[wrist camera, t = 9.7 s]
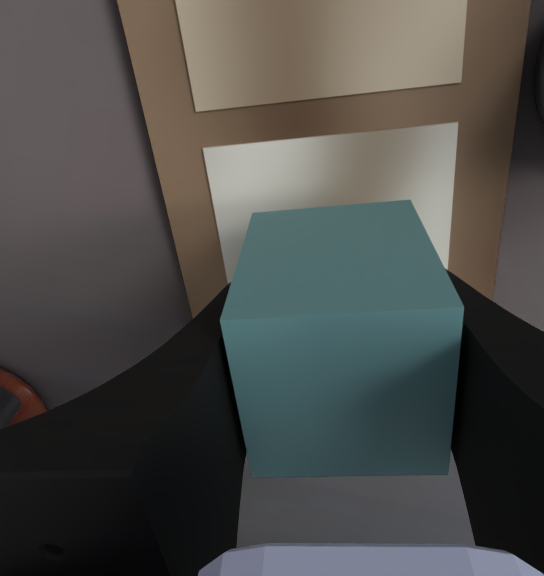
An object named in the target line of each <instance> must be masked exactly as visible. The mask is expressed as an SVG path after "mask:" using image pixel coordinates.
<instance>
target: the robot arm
mask: <svg viewBox="0 0 544 576" xmlns="http://www.w3.org/2000/svg"><path fill="white" fill-rule="evenodd" d="M445 270H446V272H447V274H448V276H449V278H450V280H451V282H452V284H453V286H454V288H455V290H456V292H457V294H458V296H459V298H460V300H461V301H462V303H463V305H464V314H463V325H462V335H461V346H460V356H459V367H458V377H457V388H456V398H455V409H454V419H453V430H452V440H451V450H452V453H453V456H454V460H455V463H456V466H457V470H458V474H459V478H460V482H461V486H462V490H463V494H464V498H465V502H466V506H467V510H468V515H469V519H470V523H471V528H472V532H473V536H474V541H475V545H476V546H473V545H467V544H364V543H265V544H259V545H252V546H246V547H240V548H236V543H237V531H238V520H239V508H240V498H241V488H242V478H243V469H244V463H245V456H246V446H245V441H244V436H243V431H242V426H241V421H240V417H239V412H238V407H237V402H236V397H235V392H234V387H233V382H232V378H231V373H230V368H229V363H228V358H227V353H226V348H225V344H224V339H223V334H222V329H221V324H220V318H221V315H222V312H223V308H224V305H225V302H226V298H227V295H228V292H229V289H230V285H231V282H230V283H229V284H228V285H227V286H225V287H224V288H223V289H222V290H221V292H220V293H219V294H218V295H217V296H216V297H215V298H214V299H213V300H212V301H211V302H210V303H209V304H208V305H207V306H206V307H205V308H204V309H203V310H202V311H201V312H200V313H199V314H198V315H197V316H196V317H195V318H194V319H192V320H191V321H190V322H189V323H188V324H187V325H186V326H185V327H183V328H182V329H181V330H180V331H179V332H178V333H177V334H175V335H174V336H173V337H172V338H171V339H170V340H169V341H167V342H166V343H165V344H164V345H162V346H161V347H160V348H158V349H157V350H156V351H154V352H153V353H152V354H150V355H149V356H147V357H146V358H145V359H143V360H142V361H140V362H139V363H137V364H136V365H134V366H133V367H131V368H130V369H128V370H126V371H125V372H123V373H121V374H120V375H118V376H116V377H114V378H113V379H111V380H109V381H108V382H106V383H104V384H103V385H101V386H99V387H97V388H95V389H93V390H91V391H89V392H88V393H86V394H84V395H82V396H80V397H78V398H75V399H73V400H71V401H69V402H67V403H65V404H63V405H60V406H58V407H56V408H54V409H51V410H49V411H47V412H44V413H42V414H39V415H37V416H34V417H32V418H29V419H26V420H24V421H21V422H19V423H16V424H14V425H11V426H8V427H6V428H3V429H0V576H544V332H543V331H541V330H539V329H537V328H535V327H534V326H532V325H530V324H528V323H527V322H525V321H523V320H522V319H520V318H518V317H516V316H515V315H513V314H511V313H510V312H508V311H507V310H505V309H503V308H502V307H500V306H499V305H497V304H496V303H494V302H493V301H491V300H490V299H488V298H487V297H485V296H484V295H483V294H481V293H480V292H478V291H477V290H475V289H474V288H473V287H471V286H470V285H468V284H467V283H466V282H464V281H463V280H461V279H460V278H459V277H457V276H456V275H455V274H453V273H452V272H450V271H449V270H447V269H445Z"/></svg>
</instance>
